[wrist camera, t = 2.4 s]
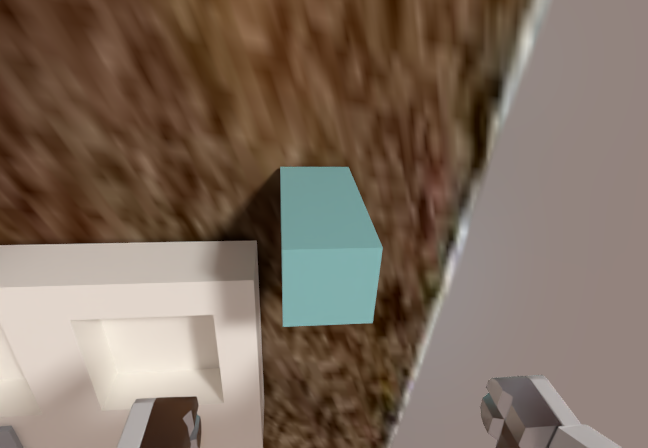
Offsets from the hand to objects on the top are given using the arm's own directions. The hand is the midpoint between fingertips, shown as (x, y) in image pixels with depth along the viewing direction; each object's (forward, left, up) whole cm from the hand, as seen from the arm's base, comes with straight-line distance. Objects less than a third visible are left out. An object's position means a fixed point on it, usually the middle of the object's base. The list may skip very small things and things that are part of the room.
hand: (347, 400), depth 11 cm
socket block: (+8, -13, -12) cm, 19 cm away
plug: (-1, 0, -12) cm, 12 cm away
